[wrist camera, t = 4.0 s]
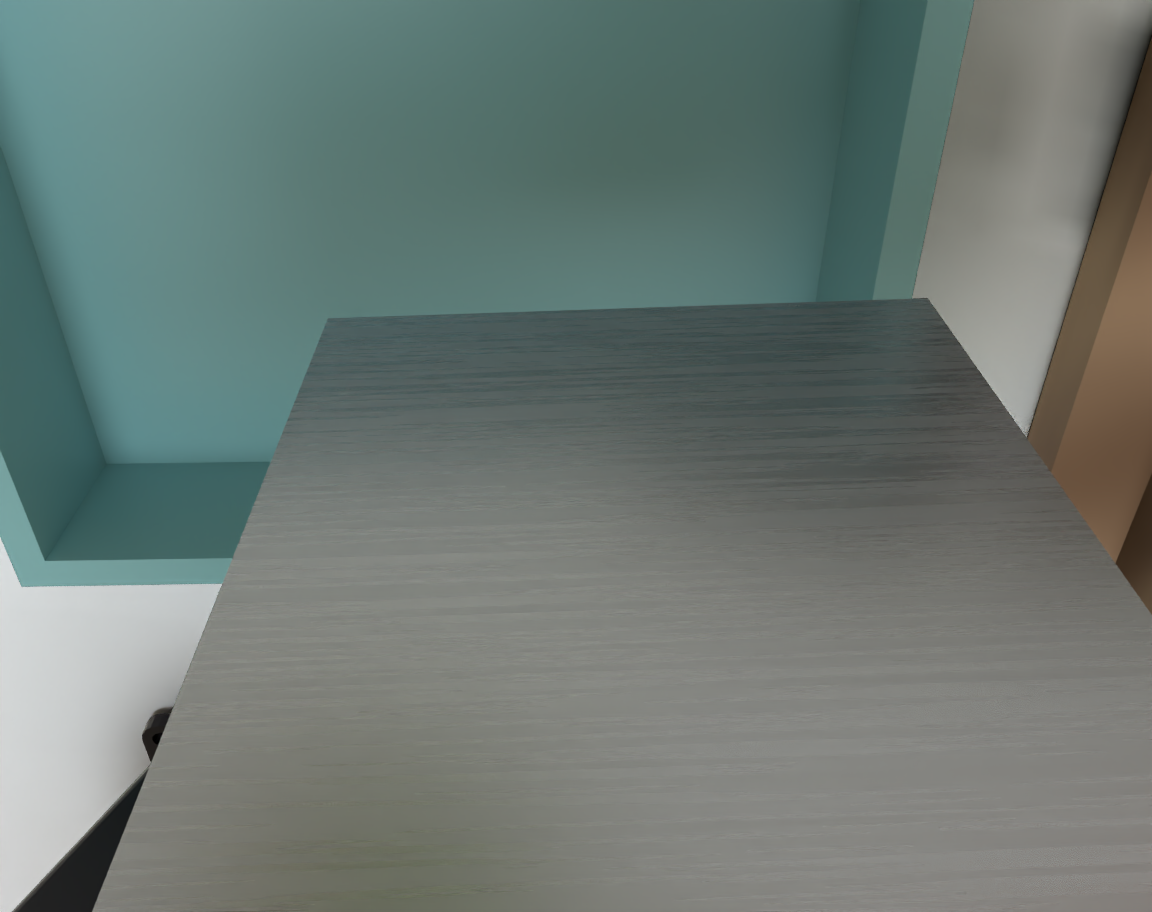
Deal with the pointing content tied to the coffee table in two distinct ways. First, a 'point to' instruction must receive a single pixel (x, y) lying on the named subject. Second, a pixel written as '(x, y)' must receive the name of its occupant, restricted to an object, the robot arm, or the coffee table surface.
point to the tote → (401, 211)
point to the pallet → (1110, 363)
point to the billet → (655, 636)
